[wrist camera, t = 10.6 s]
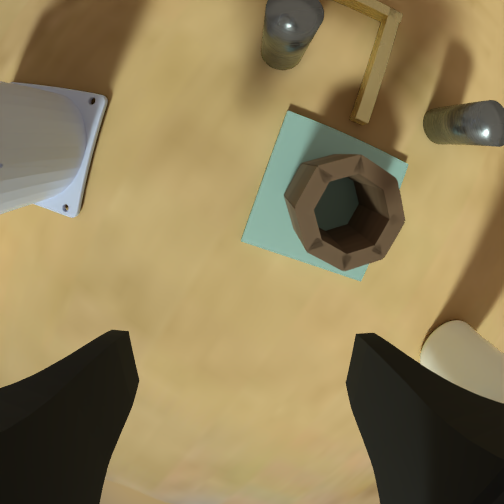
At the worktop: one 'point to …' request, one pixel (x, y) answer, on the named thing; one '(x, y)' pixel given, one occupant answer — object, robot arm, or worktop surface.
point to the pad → (332, 200)
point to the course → (374, 69)
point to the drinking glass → (465, 359)
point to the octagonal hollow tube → (363, 219)
